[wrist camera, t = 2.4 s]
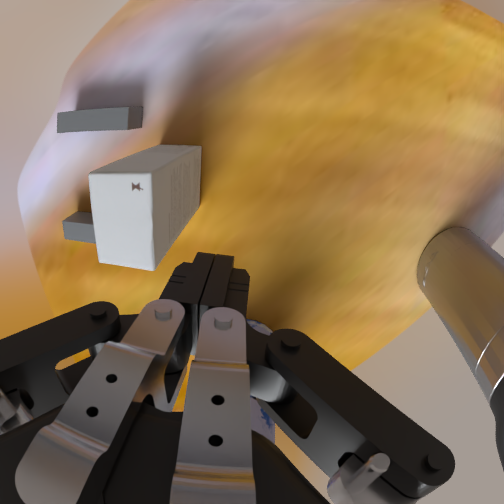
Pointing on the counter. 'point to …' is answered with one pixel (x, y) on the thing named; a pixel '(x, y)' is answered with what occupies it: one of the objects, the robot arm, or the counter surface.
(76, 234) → the charcoal cradle
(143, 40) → the counter surface
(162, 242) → the skincare box
